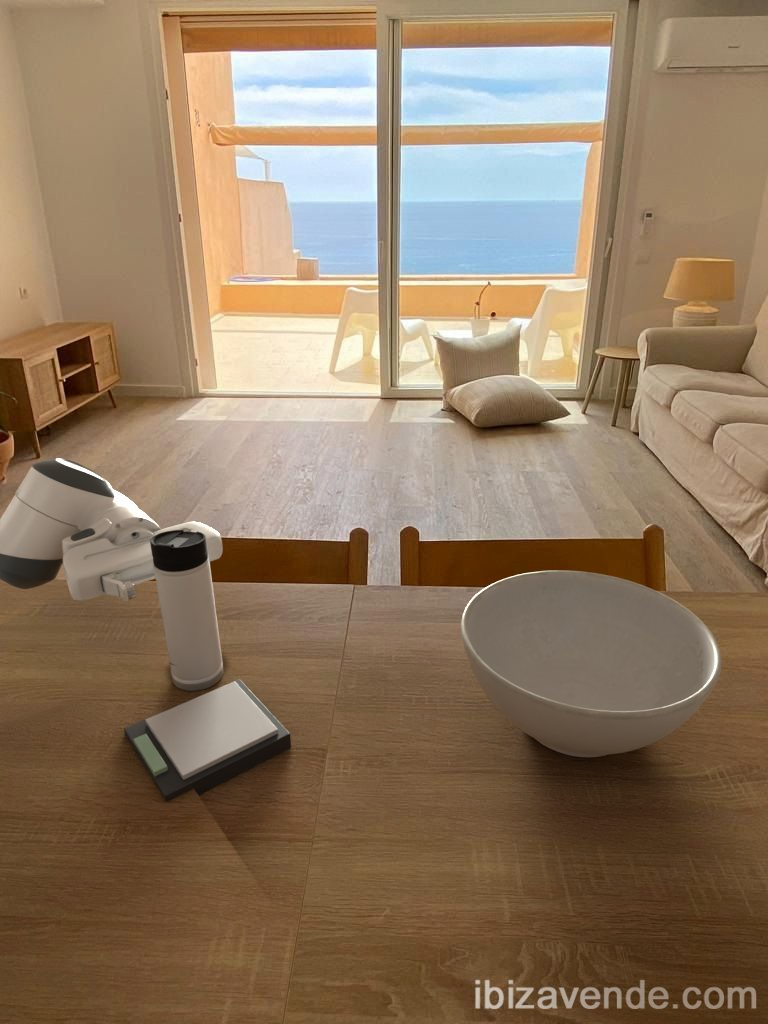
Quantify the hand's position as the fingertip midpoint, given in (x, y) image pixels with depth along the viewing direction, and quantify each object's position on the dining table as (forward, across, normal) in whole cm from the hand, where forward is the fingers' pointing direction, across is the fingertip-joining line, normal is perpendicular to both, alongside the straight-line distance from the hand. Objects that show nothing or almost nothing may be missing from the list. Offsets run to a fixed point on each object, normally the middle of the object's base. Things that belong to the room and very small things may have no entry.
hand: (167, 582), depth 87 cm
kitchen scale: (+18, +4, -11) cm, 21 cm away
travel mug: (+6, 0, -11) cm, 13 cm away
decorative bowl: (+40, -31, -11) cm, 52 cm away
